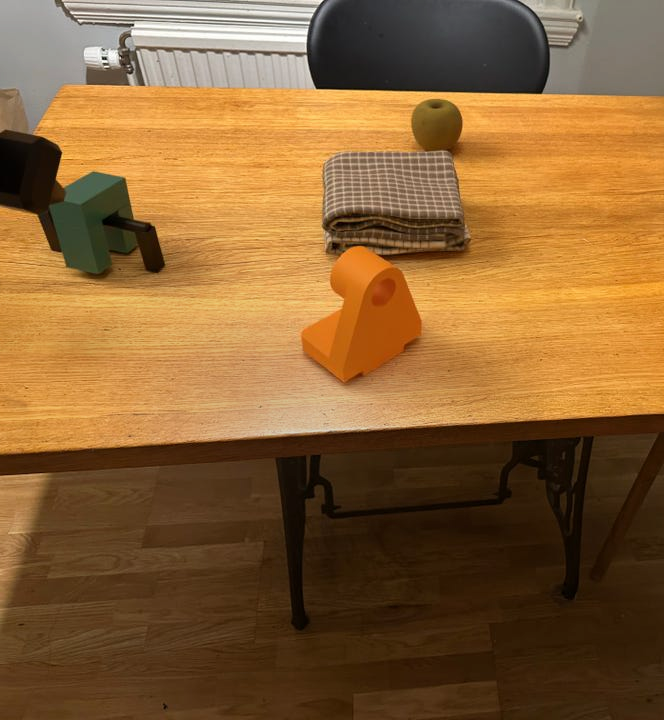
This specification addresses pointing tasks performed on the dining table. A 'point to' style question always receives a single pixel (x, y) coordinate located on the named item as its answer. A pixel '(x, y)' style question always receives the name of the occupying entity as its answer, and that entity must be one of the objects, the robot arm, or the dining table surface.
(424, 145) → the apple
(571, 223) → the dining table surface
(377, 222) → the towel
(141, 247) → the dark pull handle
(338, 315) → the bracket
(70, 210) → the dark green block
